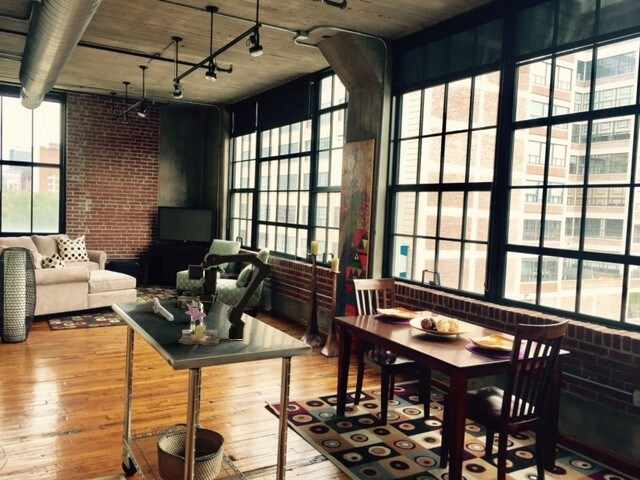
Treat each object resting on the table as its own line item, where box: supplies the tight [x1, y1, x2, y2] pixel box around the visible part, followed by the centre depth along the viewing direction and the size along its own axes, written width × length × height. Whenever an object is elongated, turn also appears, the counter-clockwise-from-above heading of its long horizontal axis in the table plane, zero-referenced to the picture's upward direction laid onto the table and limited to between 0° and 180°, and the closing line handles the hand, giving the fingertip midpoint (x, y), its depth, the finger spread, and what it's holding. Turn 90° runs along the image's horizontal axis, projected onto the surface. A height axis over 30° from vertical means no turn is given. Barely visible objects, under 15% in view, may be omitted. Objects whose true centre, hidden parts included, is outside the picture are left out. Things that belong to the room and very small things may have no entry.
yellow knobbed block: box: [194, 324, 207, 339], centre depth 244 cm, size 4×5×5 cm
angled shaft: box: [181, 328, 195, 340], centre depth 243 cm, size 5×3×4 cm, turn 122°
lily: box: [185, 304, 207, 325], centre depth 283 cm, size 12×12×10 cm
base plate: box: [177, 329, 222, 346], centre depth 244 cm, size 17×11×6 cm, turn 92°
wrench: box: [151, 297, 175, 322], centre depth 296 cm, size 8×2×30 cm
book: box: [177, 295, 201, 309], centre depth 328 cm, size 15×25×5 cm, turn 16°
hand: (208, 313), depth 249 cm, fingers open, 9 cm apart
